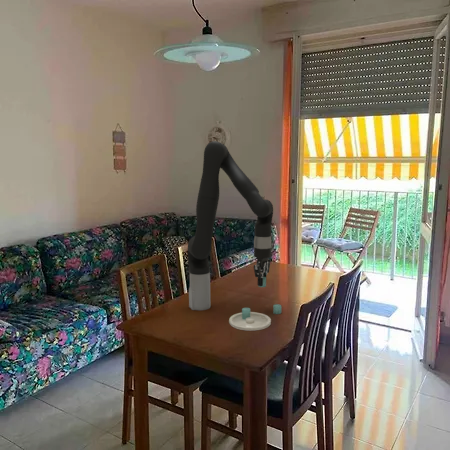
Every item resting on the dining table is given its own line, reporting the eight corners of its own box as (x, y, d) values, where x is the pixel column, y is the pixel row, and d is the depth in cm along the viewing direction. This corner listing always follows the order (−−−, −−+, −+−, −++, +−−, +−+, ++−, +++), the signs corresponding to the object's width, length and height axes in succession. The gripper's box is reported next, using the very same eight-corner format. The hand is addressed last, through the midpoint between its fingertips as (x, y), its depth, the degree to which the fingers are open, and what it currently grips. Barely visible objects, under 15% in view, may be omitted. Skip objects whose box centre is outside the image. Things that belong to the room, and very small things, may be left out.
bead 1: (243, 320, 178) (243, 311, 177) (240, 317, 181) (240, 308, 181) (251, 319, 179) (251, 310, 178) (248, 316, 182) (248, 307, 182)
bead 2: (259, 287, 185) (259, 278, 184) (256, 285, 188) (256, 276, 188) (267, 286, 186) (267, 278, 185) (264, 284, 189) (264, 275, 189)
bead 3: (275, 316, 184) (275, 307, 183) (271, 313, 187) (272, 304, 187) (282, 315, 185) (282, 306, 184) (279, 312, 188) (279, 303, 188)
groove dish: (237, 334, 166) (237, 329, 165) (224, 318, 182) (224, 313, 181) (277, 329, 171) (277, 323, 170) (261, 314, 187) (261, 309, 186)
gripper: (264, 250, 176) (263, 290, 179) (276, 244, 189) (275, 281, 191) (247, 248, 180) (247, 287, 183) (261, 242, 192) (260, 279, 195)
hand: (261, 284), depth 187 cm, fingers closed on bead 2, 3 cm apart
